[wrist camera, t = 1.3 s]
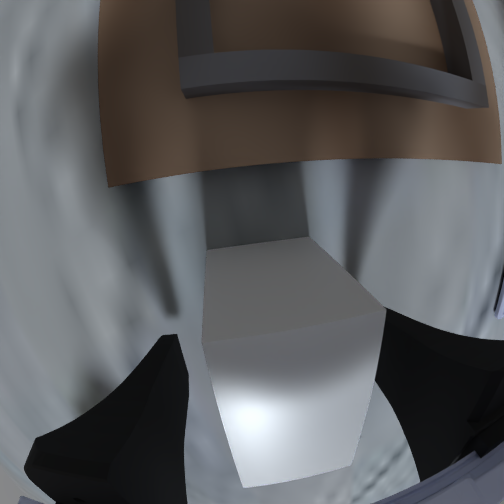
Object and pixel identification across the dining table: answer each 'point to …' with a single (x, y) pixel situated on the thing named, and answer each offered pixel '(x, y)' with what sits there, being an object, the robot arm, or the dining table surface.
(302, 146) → the cradle
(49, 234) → the dining table surface
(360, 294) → the key block
